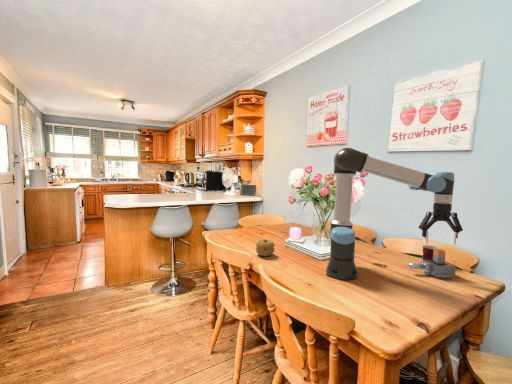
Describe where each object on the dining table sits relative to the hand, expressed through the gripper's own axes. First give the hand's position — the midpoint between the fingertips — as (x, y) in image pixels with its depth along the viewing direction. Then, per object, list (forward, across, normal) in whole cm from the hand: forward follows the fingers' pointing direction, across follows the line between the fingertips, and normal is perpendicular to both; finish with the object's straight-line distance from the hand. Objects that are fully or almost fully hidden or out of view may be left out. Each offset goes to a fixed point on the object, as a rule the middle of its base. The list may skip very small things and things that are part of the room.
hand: (438, 243), depth 130 cm
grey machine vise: (+16, -4, 0) cm, 16 cm away
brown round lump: (+18, -89, +23) cm, 94 cm away
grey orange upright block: (+14, +1, 0) cm, 14 cm away
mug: (+16, +5, +14) cm, 22 cm away
